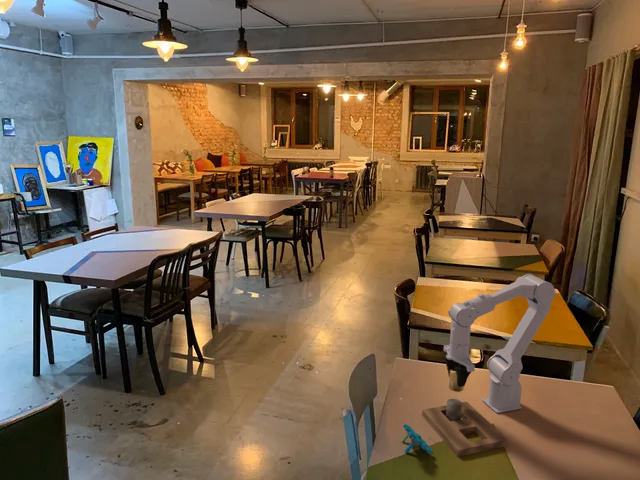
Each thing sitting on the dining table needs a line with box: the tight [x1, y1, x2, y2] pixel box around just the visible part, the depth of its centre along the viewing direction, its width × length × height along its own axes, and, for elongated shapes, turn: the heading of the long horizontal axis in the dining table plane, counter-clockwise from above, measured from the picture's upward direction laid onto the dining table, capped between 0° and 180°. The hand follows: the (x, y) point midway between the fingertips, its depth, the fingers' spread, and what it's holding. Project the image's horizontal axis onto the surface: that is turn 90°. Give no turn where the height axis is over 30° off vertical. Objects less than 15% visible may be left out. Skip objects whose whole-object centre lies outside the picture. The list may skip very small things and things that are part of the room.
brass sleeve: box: [448, 367, 465, 393], centre depth 148 cm, size 4×4×6 cm
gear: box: [401, 423, 433, 454], centre depth 130 cm, size 11×6×10 cm
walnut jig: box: [421, 398, 509, 458], centre depth 139 cm, size 16×20×6 cm
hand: (456, 381), depth 148 cm, fingers closed on brass sleeve, 4 cm apart
